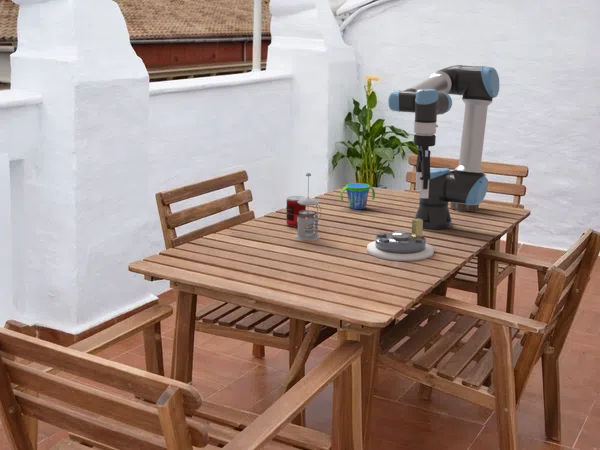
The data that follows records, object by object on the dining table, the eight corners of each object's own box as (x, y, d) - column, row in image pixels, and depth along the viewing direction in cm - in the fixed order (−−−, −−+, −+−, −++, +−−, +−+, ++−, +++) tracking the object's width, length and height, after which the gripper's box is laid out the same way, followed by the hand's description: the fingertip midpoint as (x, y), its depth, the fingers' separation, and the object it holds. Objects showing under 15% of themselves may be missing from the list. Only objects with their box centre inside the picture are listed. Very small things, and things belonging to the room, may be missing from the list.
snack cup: (342, 211, 368) (343, 188, 365) (337, 205, 378) (338, 183, 375) (377, 210, 370) (378, 187, 368) (371, 204, 380) (372, 182, 378)
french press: (289, 236, 324) (290, 172, 318) (309, 231, 332) (310, 168, 326) (308, 241, 317) (309, 176, 311) (328, 236, 326) (330, 172, 320)
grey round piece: (396, 256, 293) (397, 230, 291) (365, 244, 308) (366, 219, 306) (435, 249, 303) (437, 224, 301) (404, 238, 318) (405, 214, 315)
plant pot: (488, 208, 378) (491, 172, 374) (475, 214, 364) (478, 178, 360) (454, 203, 386) (456, 168, 382) (440, 209, 373) (442, 173, 369)
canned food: (308, 222, 346) (308, 196, 343) (301, 227, 339) (302, 200, 336) (290, 221, 348) (290, 195, 346) (283, 225, 341) (283, 198, 338)
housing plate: (420, 241, 320) (420, 236, 319) (443, 259, 297) (443, 253, 297) (359, 244, 315) (359, 239, 314) (378, 262, 292) (378, 256, 292)
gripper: (441, 139, 281) (437, 201, 286) (430, 129, 305) (427, 187, 310) (418, 138, 281) (415, 201, 286) (410, 129, 305) (407, 186, 310)
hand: (421, 194), depth 298 cm, fingers open, 13 cm apart
